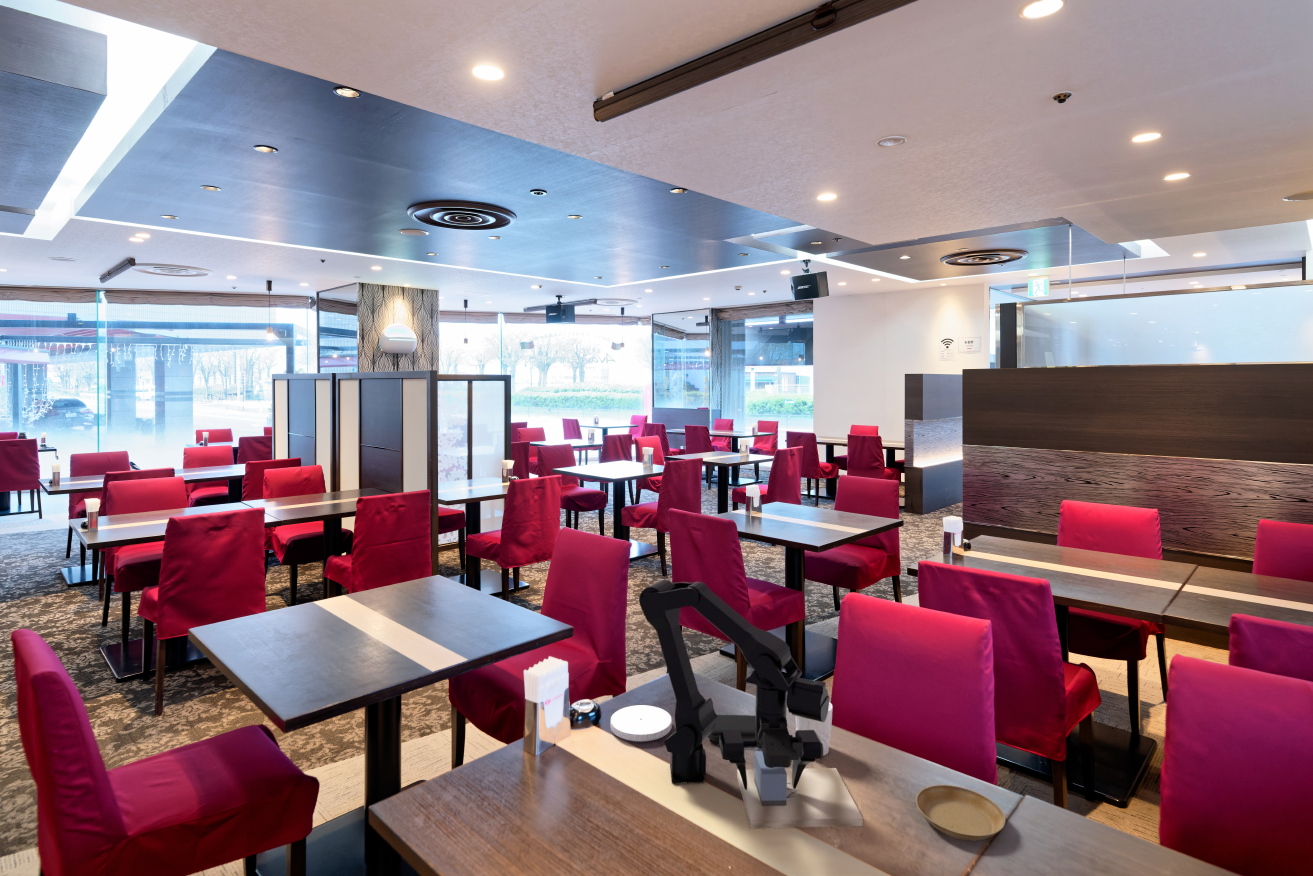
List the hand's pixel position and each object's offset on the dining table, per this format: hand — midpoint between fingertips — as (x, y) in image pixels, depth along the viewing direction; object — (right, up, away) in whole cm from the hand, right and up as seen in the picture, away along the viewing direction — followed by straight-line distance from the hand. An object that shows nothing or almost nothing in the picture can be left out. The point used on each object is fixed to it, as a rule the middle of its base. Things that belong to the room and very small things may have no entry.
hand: (769, 788), depth 128 cm
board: (+5, -2, 0) cm, 6 cm away
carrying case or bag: (-3, -1, +24) cm, 25 cm away
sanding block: (0, -1, 0) cm, 1 cm away
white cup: (+12, -1, +19) cm, 22 cm away
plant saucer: (+33, -3, -6) cm, 34 cm away
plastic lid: (-25, -1, +27) cm, 37 cm away
